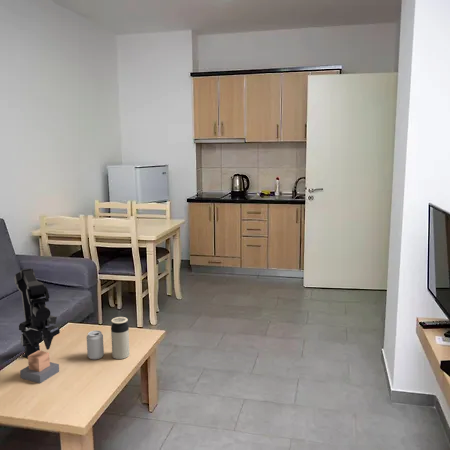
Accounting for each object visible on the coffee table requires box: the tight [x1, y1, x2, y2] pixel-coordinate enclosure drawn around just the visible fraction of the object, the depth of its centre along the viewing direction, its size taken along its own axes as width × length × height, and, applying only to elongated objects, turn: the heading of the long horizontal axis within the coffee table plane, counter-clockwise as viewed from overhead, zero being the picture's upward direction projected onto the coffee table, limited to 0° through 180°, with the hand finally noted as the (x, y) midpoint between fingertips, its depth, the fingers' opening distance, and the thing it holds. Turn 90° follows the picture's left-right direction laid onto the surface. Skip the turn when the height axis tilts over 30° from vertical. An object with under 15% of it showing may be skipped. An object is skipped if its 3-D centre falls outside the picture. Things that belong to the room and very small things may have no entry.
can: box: [86, 330, 105, 360], centre depth 216 cm, size 8×8×12 cm
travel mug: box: [110, 316, 130, 360], centre depth 216 cm, size 8×8×18 cm
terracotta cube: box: [27, 349, 51, 372], centre depth 198 cm, size 6×6×6 cm
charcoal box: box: [19, 361, 60, 384], centre depth 199 cm, size 11×11×4 cm
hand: (40, 347), depth 200 cm, fingers open, 9 cm apart
